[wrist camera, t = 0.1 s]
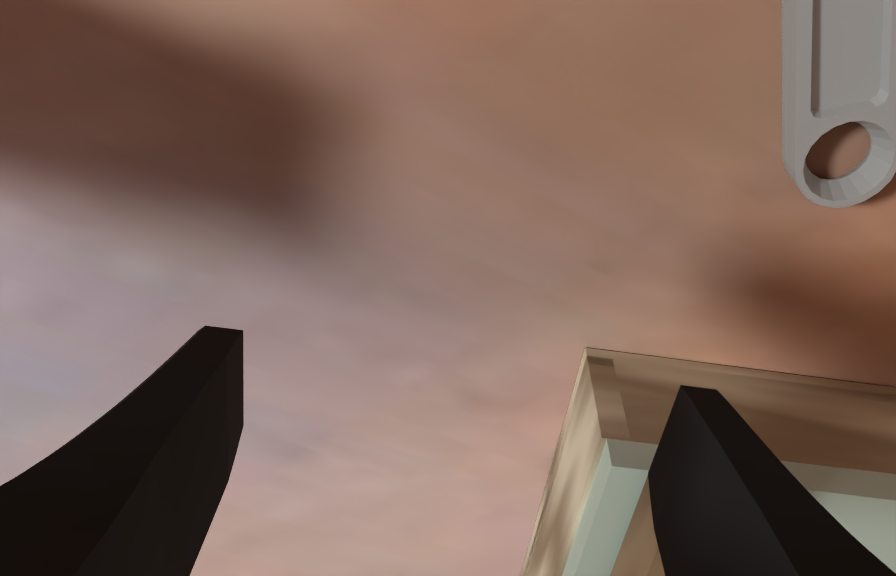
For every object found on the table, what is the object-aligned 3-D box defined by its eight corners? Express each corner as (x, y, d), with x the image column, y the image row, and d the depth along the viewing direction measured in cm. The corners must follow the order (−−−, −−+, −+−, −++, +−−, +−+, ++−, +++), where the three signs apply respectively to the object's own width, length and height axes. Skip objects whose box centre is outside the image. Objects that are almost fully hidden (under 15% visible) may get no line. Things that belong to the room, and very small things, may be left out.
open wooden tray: (815, 626, 32) (854, 727, 29) (515, 592, 32) (519, 691, 28) (959, 395, 26) (1030, 490, 23) (585, 347, 25) (601, 437, 22)
